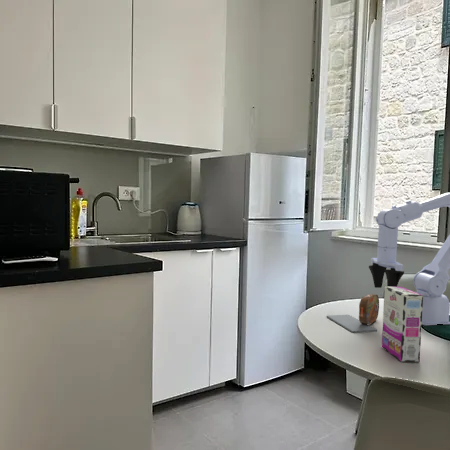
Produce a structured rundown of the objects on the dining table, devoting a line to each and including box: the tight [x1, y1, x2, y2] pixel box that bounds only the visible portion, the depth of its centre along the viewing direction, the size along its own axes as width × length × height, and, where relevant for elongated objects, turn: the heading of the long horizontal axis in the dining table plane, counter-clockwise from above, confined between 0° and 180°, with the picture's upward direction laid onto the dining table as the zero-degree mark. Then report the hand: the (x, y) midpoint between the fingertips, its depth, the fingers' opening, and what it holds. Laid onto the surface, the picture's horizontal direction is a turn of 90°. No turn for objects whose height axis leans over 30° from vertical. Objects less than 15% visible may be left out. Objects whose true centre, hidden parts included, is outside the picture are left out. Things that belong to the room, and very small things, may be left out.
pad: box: [326, 314, 378, 334], centre depth 136 cm, size 8×17×1 cm, turn 13°
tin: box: [358, 293, 380, 326], centre depth 138 cm, size 15×3×8 cm, turn 147°
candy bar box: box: [381, 286, 423, 363], centre depth 109 cm, size 11×5×16 cm, turn 5°
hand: (384, 289), depth 138 cm, fingers open, 7 cm apart
